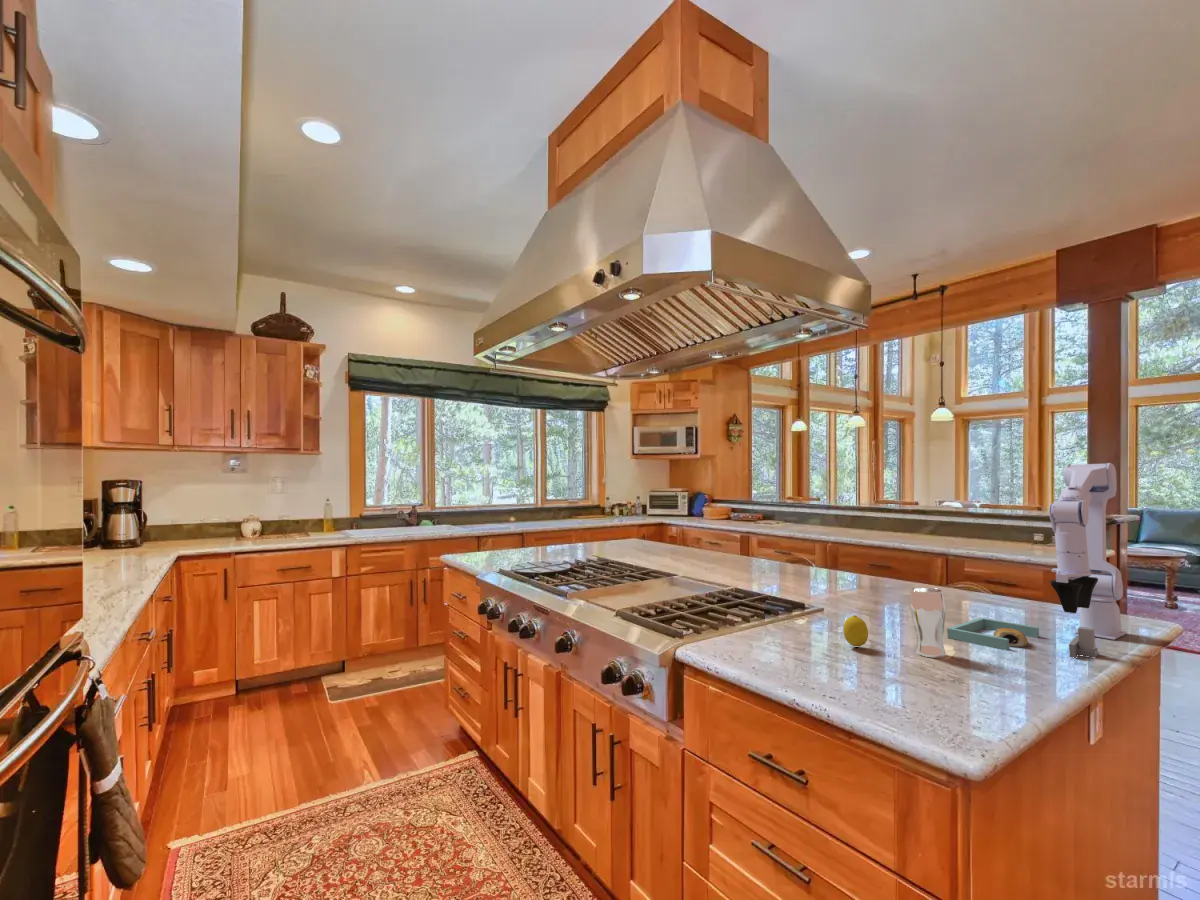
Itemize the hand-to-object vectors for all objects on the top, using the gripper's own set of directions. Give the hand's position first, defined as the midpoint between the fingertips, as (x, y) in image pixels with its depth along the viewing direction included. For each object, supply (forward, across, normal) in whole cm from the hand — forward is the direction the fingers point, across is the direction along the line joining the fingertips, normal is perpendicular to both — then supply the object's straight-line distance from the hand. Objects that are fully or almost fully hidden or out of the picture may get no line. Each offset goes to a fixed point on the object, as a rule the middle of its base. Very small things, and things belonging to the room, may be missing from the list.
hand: (1076, 609), depth 129 cm
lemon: (+9, +39, -31) cm, 51 cm away
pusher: (+9, +3, +2) cm, 10 cm away
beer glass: (+9, +30, -18) cm, 36 cm away
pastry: (+10, +6, -12) cm, 16 cm away
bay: (+9, +4, -16) cm, 19 cm away
